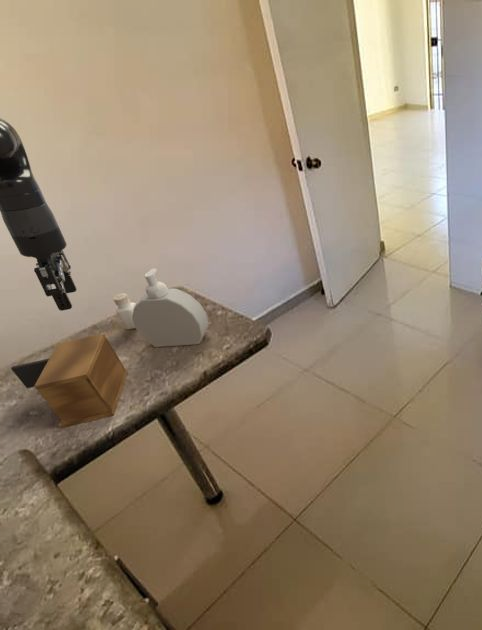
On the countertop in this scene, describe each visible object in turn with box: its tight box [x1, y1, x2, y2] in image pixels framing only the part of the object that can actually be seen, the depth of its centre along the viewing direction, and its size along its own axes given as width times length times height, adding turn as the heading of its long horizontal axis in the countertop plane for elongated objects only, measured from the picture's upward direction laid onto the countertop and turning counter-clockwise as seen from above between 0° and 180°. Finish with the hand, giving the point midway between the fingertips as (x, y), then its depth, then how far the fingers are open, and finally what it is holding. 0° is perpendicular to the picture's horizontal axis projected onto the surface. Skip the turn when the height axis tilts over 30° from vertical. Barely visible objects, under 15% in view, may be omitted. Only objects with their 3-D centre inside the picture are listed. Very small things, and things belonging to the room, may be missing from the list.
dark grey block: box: [10, 357, 50, 389], centre depth 94 cm, size 10×7×9 cm
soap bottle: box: [132, 267, 210, 348], centre depth 107 cm, size 16×5×20 cm, turn 93°
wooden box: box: [33, 333, 128, 429], centre depth 94 cm, size 10×14×12 cm
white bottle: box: [112, 292, 137, 330], centre depth 117 cm, size 4×4×10 cm
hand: (68, 300), depth 93 cm, fingers open, 8 cm apart
